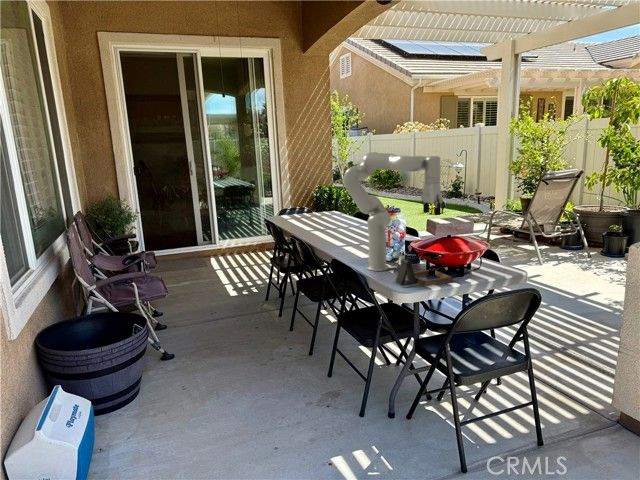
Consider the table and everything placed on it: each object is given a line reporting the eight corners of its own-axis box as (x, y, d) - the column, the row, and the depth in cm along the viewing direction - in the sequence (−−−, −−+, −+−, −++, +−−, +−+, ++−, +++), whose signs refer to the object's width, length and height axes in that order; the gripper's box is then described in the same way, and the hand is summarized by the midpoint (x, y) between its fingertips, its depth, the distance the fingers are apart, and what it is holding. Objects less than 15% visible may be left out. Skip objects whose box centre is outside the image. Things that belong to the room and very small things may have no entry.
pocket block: (406, 278, 230) (406, 273, 230) (431, 273, 236) (431, 269, 236) (425, 286, 216) (425, 281, 215) (451, 281, 222) (451, 276, 222)
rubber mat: (392, 282, 223) (392, 281, 223) (409, 279, 227) (409, 278, 227) (404, 288, 214) (404, 287, 214) (421, 285, 218) (421, 284, 218)
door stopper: (400, 285, 217) (400, 261, 215) (395, 282, 223) (395, 259, 220) (417, 283, 219) (417, 260, 217) (411, 280, 225) (411, 257, 223)
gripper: (416, 180, 233) (416, 212, 237) (436, 182, 218) (435, 216, 221) (428, 179, 236) (427, 211, 240) (449, 181, 220) (448, 215, 224)
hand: (431, 213), depth 230 cm, fingers open, 9 cm apart
